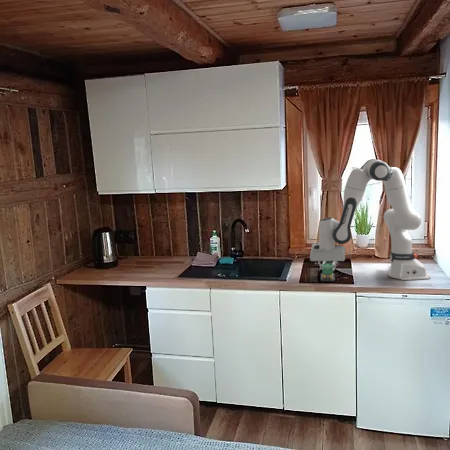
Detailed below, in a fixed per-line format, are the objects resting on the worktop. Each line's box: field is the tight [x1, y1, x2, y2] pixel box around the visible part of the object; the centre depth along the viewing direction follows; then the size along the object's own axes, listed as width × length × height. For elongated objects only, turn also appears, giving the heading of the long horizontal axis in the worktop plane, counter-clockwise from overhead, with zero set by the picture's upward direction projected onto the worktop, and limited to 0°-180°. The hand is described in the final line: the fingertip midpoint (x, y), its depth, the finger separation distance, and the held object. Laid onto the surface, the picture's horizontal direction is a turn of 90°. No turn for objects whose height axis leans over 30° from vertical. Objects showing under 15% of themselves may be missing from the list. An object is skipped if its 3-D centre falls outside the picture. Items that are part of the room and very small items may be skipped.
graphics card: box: [318, 261, 337, 274], centre depth 296 cm, size 10×3×25 cm
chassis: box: [320, 272, 336, 282], centre depth 273 cm, size 8×13×5 cm, turn 168°
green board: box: [321, 263, 334, 274], centre depth 272 cm, size 6×14×2 cm, turn 168°
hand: (327, 268), depth 272 cm, fingers closed on green board, 6 cm apart
